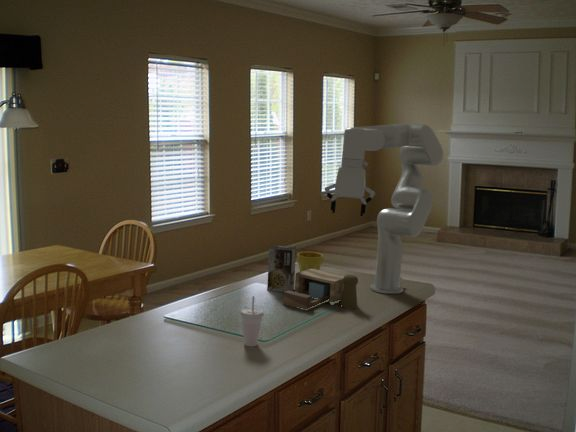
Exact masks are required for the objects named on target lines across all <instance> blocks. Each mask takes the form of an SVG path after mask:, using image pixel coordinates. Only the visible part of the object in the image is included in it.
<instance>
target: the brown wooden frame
mask: <svg viewBox="0 0 576 432" xmlns="http://www.w3.org/2000/svg"><path fill="white" fill-rule="evenodd" d="M329 298H330V294H329V295H327V296H324V297H321V298H319V299H316V300H313V299H312V296H310V295H309V290H308V291H306V292H303V293H297V292H295V291H294V290H293V291H286V292H283V299H282V300H283V303H282V305H283V306H286V305H288V306H287V307H290V306H293V307H299V308H303V309H308V308H310V307H312V306H315V305H317V304H319V303H322V302H324V301H326V300H328V299H329ZM293 307H292V308H293Z"/></svg>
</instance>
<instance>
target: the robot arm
mask: <svg viewBox="0 0 576 432" xmlns="http://www.w3.org/2000/svg"><path fill="white" fill-rule="evenodd" d="M395 148H400V149H399V157H400V163H401V174H400V177H399V180H398V182H397V185H396V186H395V189H394V191H393V193H392V195H391V199H390V203H391V205H392V207H394V208H392V207H391V208H389V207H388V208H383V209H381V210H380V211H379V212H378V214H377V217H376V225H377V226H376V227H377V249H376V250H377V251H376V260H375V261H376V263H375V271H374V272H375V273H374V283H371V284H370V288H369V289H370V290H371V291H373V292H375V293H376V292H377V293H380V294H387V295H397V294H401V293H403V292H404V287H402V286H400V284H401V282H403V277H402V276H401V271H402V260H403V259H402V258H403V250H404V248H403V246H404V245H403V241H402V239H401V236H402V237H406V238H416V237H418V236H419V235H420V234H421V233H422V231H423V229H424V227H425V225H426V222H427V220H428V217H429V216H430V213H431V211H432V208H433V204H434V195H433V193H432V191H431V190H430V189H428V188H426V187H421V186H422V185H423V180H424V177H423V174H422V172H421V170H420V167H419V165H421V166H422V165H425V166H431V167H432V166H433V167H435V166H438V165H439V164H441V162H442V161H443V158H444V151H443V147H442V144H441V143H440V140H439V139H438V138H437V135H436V134H435V132H434V131H433V129H432V128H431V127H430V126H429V125H427V124H423V123H411V122H407V123H406V122H405V123H404V122H403V123H395V124H382V125H381V124H379V125H365V126H356V127H355V126H354V127H346V128H345V130H344V133H343V143H342V156H341V164H340V166H339V167H338V171H337V173H336V179H335V183H334V184H333V183H332V184H331V185H328V186H326V187H324V191H325V194H326V196H327V197H328V199H329V200H330V201H331V203H330V211H332V214H335V213H336V205H337V201H336V200H337V198H338V197H340V198H351V199H359V200H360V201H361V205H360V214H359V215H360V216H361V217H363V216H364V214H365V215H366V207H367V204H368V203H369V202H371V201H372V199H373V198H374V196H375V195H376V192H375V191H374V190H372V189H371V188H369V187H367V185H366V179H367V176H366V175H367V174H366V169H364V168H365V167H368V165H369V162H367V161H365V155H366V153H365V152H366V151H368V152H369V151H370V152H376V151H379V150H381V149H395ZM332 189H334V195H332V193H331V191H330V190H332ZM366 192H367V193H368V194H370V195H369V196H368V197H367V198H365V195H366V194H365V193H366Z"/></svg>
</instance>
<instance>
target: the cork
mask: <svg viewBox="0 0 576 432" xmlns="http://www.w3.org/2000/svg"><path fill="white" fill-rule="evenodd" d="M343 283H344V288H343V293H342V297H341V302H340V303H341V305H342V307H341V308H343V309H347V310H354V309H357V308H358V299H357V298H358V296H357V294H358V293H357V285H358V283H359V279H358V276H357V275H353V274H346V275H345V276H344V278H343ZM340 303H339V304H340Z"/></svg>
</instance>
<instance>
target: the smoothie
mask: <svg viewBox="0 0 576 432" xmlns="http://www.w3.org/2000/svg"><path fill="white" fill-rule="evenodd" d="M251 298H252V299H251V301H252V302H251V307H245V308H242V309H241V310H240V315H241V320H242V321H241V322H242V333H243V334H242V336H243V345H244V346H245V347H256V346H257V345H258V342H259V338H260V337H259V335H260V332H261V325H262V320H263V319H262V318H263V316H264V311H263V310H262V309H261V308H257V307H255V296H252V297H251Z"/></svg>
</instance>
